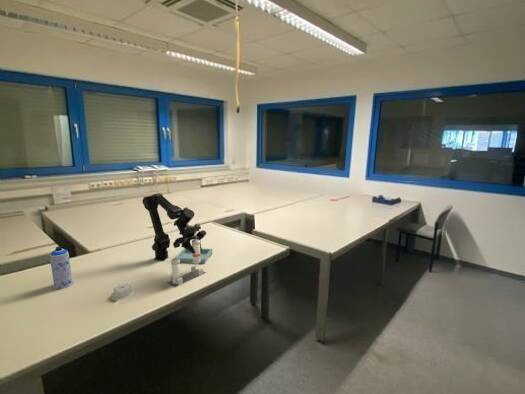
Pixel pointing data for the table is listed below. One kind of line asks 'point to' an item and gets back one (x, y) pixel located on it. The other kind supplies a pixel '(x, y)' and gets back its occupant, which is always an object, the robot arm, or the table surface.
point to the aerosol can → (61, 268)
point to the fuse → (175, 270)
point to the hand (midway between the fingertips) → (198, 252)
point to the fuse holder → (187, 276)
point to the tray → (188, 258)
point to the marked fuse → (196, 251)
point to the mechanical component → (122, 292)
